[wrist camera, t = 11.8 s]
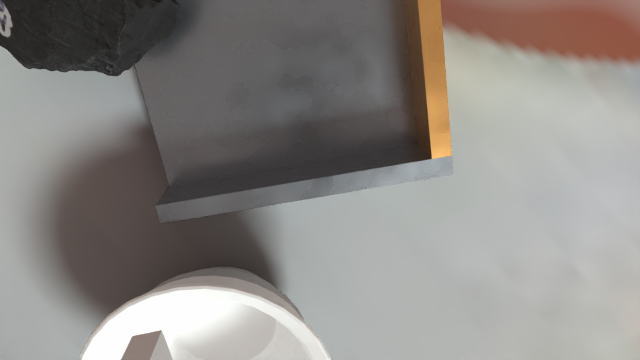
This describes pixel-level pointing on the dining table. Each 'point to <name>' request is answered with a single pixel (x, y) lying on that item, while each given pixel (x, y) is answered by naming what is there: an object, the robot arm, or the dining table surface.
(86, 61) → the rock
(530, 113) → the dining table surface
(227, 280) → the bowl
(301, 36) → the grey hollow tray
